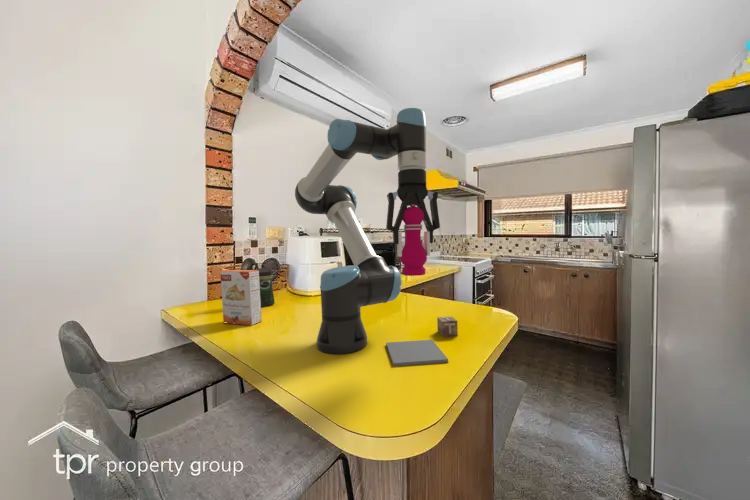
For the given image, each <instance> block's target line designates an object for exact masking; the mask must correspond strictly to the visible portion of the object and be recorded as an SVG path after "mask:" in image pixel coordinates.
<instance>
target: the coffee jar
mask: <svg viewBox="0 0 750 500" xmlns="http://www.w3.org/2000/svg"><path fill="white" fill-rule="evenodd" d="M254 270H259V281H260V300H261V308H264V306H266V307H270V305H271V306H273V305H275V295H274V289H273V278H274V275H273V270H272V268H269V267H268V268H267V267H266V268H265V267H263V268H256V269H254Z"/></svg>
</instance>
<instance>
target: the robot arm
mask: <svg viewBox="0 0 750 500" xmlns="http://www.w3.org/2000/svg"><path fill="white" fill-rule="evenodd" d="M426 125H427V123H426V114H425V112H424V111H423V110H422V109H421V108H417V107H407V108H403V109H401V110H399V111H398V112H397V115H396V124H395V125H393V126H391V127H389V128H381V127H378V126H373V125H369V124H364V123H361V122H360V123H359V122H357V121H352V120H350V119H342V118H341V119H340V118H336V119H333V120H332V121H331V122H330V123H329V127H328V130H327V137H326V138H327V143H328V144H327V146H326V147H325V149H324V150H323V152H322V153H321V155H319V157H318V158H317V160H316V162H315V163H314V164H313V166H312V168H311V169H310V171H308V174H307V175H306V176H303V177H302V178H300V180H299V181H298V183H297V184H296V187H295V189H294V196H295V197H294V198H295V200H296V202H297V204H298V206H299V207H300V208H301V209H302V210H303V211H304V212H307V213H309V214H312V215H313V214H314V215H325V216H326V218H327V219H328V221H329V222H330V223H332V224H334V226H335V228H336V229H337V232H338V235H339V236H340V238H341V241H342V242H343V244H344V247H345V248H346V251H347V253H348V255H349V257H350V259H351V261H352V264H353V265H350V264H349V265H345V266H343V265H342V266H337V267H332V268H330V269H329V268H328V269H326V270H325V271H323V272H322V273H321V275H320V285H319V289H320V302H321V303H320V304H321V305H320V306H321V307H320V308H321V324H320V327H319V330H318V333H317V338H316V347H317V350H319V351H320V352H323V353H326V354H331V355H332V354H334V355H341V354H342V355H345V354H350V353H354V352H358V351H361V350H362V349H364V348H365V347H367V346H368V335H367V332H366V329H365V326H364V323H363V321H362V318H361V317H362V316H361V313H362V312H361V307H367V306H372V305H373V306H374V305H378V304H386V303H388V302H391V301H394V300H396V299H397V298H398V296H399V295H400V292H401V290H402V276H401V273H400V271H399V269H398V268H397V267H396V266H393V265H388V264H387V262H386V261H385V259H384V257H383V256H379V255H377V253H376V251H375V250H374V247H373V245H372V244H371V242H370V240H369V239H368V237H367V236H368V235H366V232H365V231H364V229H363V227H362V225H361V223H360V221H359V220H358V218H357V216H356V214H355V213H356V209H357V204H358V201H357V196H356V194H355V191H354V190H353V189H352V188H350V187H349V186H344V185H341V184H340V185H335V184H334V185H333V184H331V183H332V182H333V181H334V179H335V178H336V177H337V176H338V175H339V174H340V172H341V171H342V170H343V169H344V168H345V167H346V165H347V164H348V163H349V162H350V160H352V158H353V157H354V156H355V155H356V154H357V153H359V154H365V155H371V156H372V157H373V158H374V159H375V160H377V161H383V160H384V161H385V160H388V159H391V158H392V157H395V156H397V170H398V173H397V182H398V183H397V184H398V185H397V187H398V188H397V189H396V191H394V192H391V191H390V192H388V193H387V195H386V197H387V200H388V205H387V215H386V226H385V228H386V230H388V231H391V232H392V236H393V237H392V241H393V244H394V245H396V253H397V257H402V249H403V242H402V241H403V239H402V238H403V237H402V232H399V231H400V227H401V225H402V222H403V220H402V219H403V217H404V213H405V211H406V208H408V207H411V206H410V205H413V204H414V205H416V206H415V207H419V208H421V209H422V211H423V213H424V219H423V221H422V222H423V224H424V227H425V229H426V231H424V232H423V247H424V249H425V252H426V255H427V256H431V245H430V244H433V242H434V231H435V230H437V229H440V228H441V224H440V217H439V209H438V202H437V201H438V196H439V193H438V191H434V192H433V191H429V190H428V188H427V171H426V170H425V169H426V168H427V144H426V143H427V141H426V138H427V137H426V134H427V133H426V132H427V130H426V129H427V126H426ZM397 197H398V199H400V202H401V203H400V207H399V210H398V213H397V216H396V219H395V221H394V214H395V213H394V211H395V210H394V209H395V201H396V200H397ZM426 197H427V199H428V201H429V207H430V215H429V213H428V211H427V210H428V209H427V208H426V203H425V199H426ZM430 216H431V217H430ZM430 218H431V219H430ZM393 222H394V223H393Z"/></svg>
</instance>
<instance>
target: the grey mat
mask: <svg viewBox="0 0 750 500" xmlns="http://www.w3.org/2000/svg"><path fill="white" fill-rule="evenodd" d="M385 346H386V349H387V352H388V353H389V354H388V355H389V358H390V360H391V362H392V365H393V367H401V366H403V367H404V366H414V365H430V364H441V363H449V358H448V357H447V356H446V355H445V353H444V352H443V351H442V349H440V347H439V346H438V345H437V344H436V342H435V341H434V340H433V339H422V340H421V339H420V340H419V339H418V340H407V341H405V340H404V341H393V342H391V341H389V342H386V343H385Z"/></svg>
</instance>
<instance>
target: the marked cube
mask: <svg viewBox="0 0 750 500" xmlns="http://www.w3.org/2000/svg"><path fill="white" fill-rule="evenodd" d="M436 318H437V319H436V321H437V333H438V334H439V336H441V337H447V338H448V337H458V335H459V333H458V325H459V324H458V320H457V319H456V318H454V317H453V316H438V317H436Z"/></svg>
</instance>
